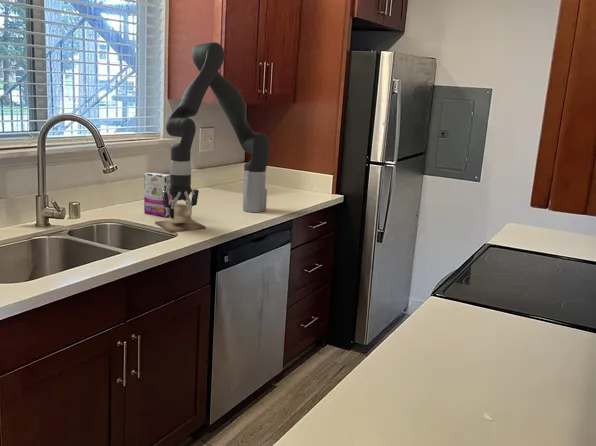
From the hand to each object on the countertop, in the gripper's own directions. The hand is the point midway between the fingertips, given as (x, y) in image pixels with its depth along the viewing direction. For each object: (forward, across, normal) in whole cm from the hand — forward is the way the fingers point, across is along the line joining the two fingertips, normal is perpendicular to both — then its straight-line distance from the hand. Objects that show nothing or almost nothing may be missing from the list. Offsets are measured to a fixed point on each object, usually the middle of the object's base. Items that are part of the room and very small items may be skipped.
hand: (180, 217), depth 218 cm
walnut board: (+3, 0, 0) cm, 3 cm away
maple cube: (+1, 0, 0) cm, 1 cm away
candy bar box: (+4, 0, -21) cm, 21 cm away
